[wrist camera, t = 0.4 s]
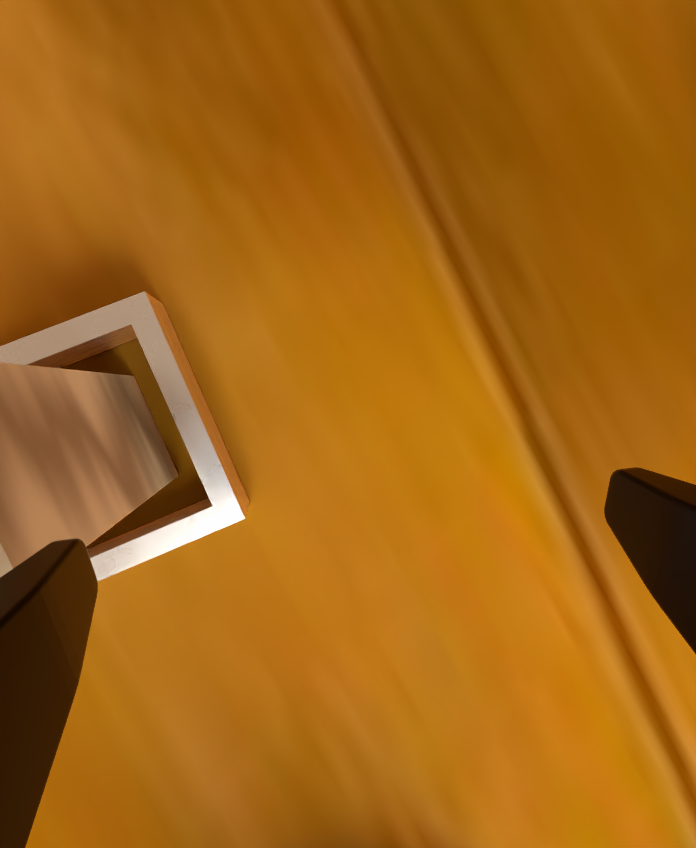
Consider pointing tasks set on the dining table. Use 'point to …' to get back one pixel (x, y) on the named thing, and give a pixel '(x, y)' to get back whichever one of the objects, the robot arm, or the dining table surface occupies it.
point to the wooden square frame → (185, 404)
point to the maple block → (72, 456)
